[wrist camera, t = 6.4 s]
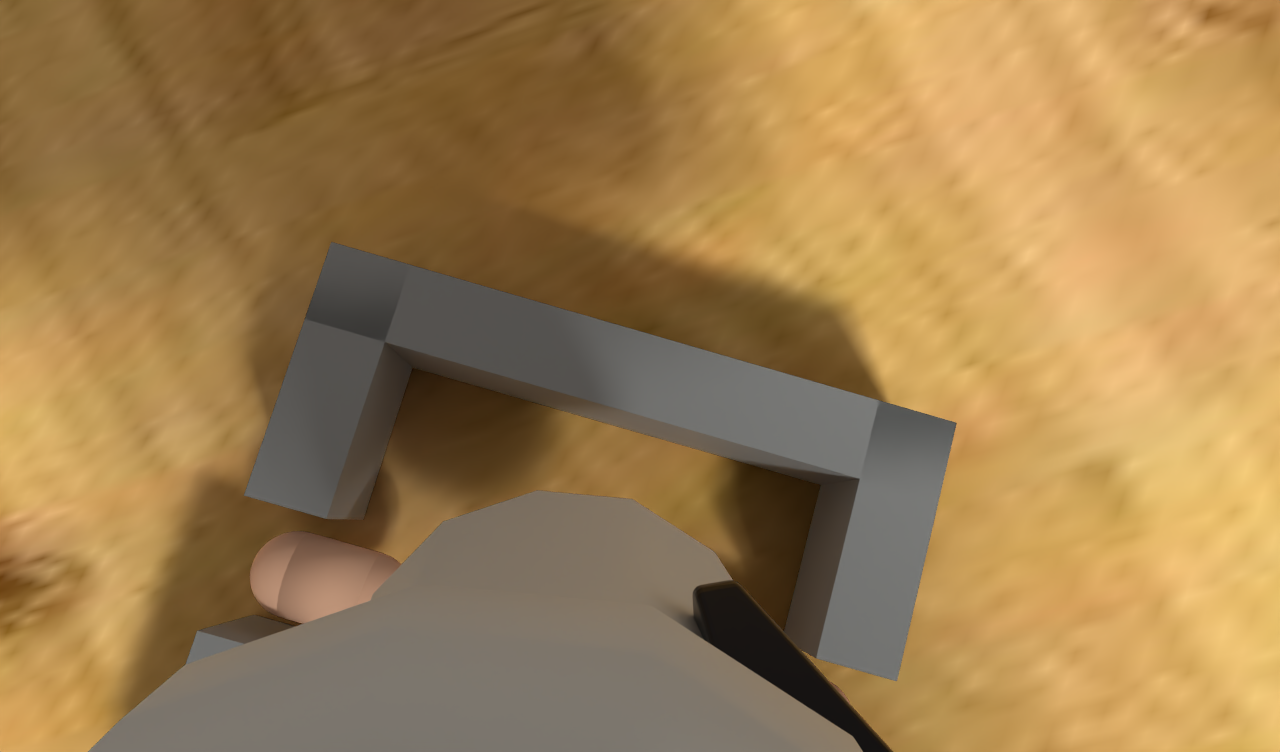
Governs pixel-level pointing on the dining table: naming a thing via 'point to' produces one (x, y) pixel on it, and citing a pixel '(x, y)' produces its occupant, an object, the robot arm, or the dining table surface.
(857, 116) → the dining table surface
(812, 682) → the robot arm
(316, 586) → the plunger left
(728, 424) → the grey square frame
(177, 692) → the salt shaker
